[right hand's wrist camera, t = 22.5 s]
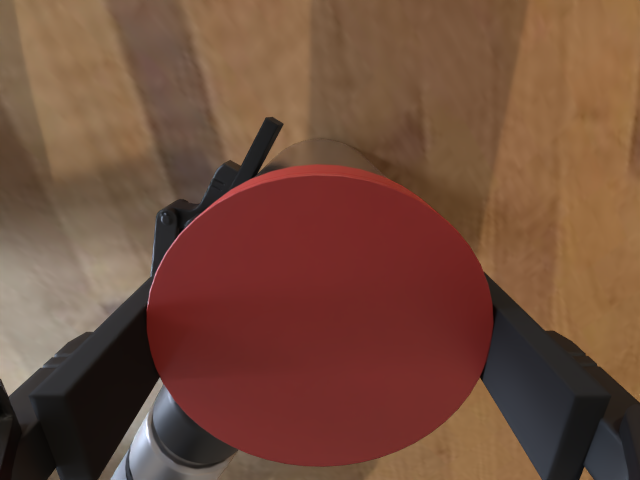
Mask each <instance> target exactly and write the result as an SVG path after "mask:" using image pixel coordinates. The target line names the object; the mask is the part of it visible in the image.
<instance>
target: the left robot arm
mask: <svg viewBox="0 0 640 480" xmlns="http://www.w3.org/2000/svg"><path fill="white" fill-rule="evenodd" d="M282 126H283V123H282V122H280V121H278V120H277V119H275V118H273V117H266V118H265V120H264V122H263V124H262V126H261V128H260V130H259V132H258V134H257V136H256V138H255V140H254V142H253V144H252V146H251V147H250V149H249V151H248V153H247V155H246V157H245V159H244V161H243V163H242V165H241V166H240V165H238V164H236V163H235V162H233V161H231V160H229V161H227V162H226V163H224V164H223V165H221V166H220V167H219V168H218V169H217V170H216V172H215V174H214V176H213V179H212V181H211V183H210V185H209V187H208V189H207V191H206V193H205V195H204V197H203V199H202V201H201V203H200V204H192V203H189V202H188V201H186V200H184V199H179V200H176V201H175V202H173V203H172V204H170V205H168V206H167V207H165V208H163V209H162V210H160V211H159V212H158V213H157V216H156V224H155V234H154V245H153V256H152V267H151V276H152V275H153V274H154V273H155V272H156V271H157V269H158V267H159V265H160V263H161V261H162V259H163V257H164V255H165V254H166V252H167V250H168V249H169V248H170V246H171V245H172V244H173V242H174V241H175V240H176V238H177V237H178V235H179V234H180V233H181V232H182V231H183V230H184V229H185V228H186V227H187V226H188V225H189V224H190V223H191V222H192V221H193V220H194V219H195V218H196V217H197V216H199V215H200V214H201V213H202V212H203V211H205V210H206V209H207V208H208V207H209V206H210V205H212V204H213V203H214V202H215V201H217V200H218V199H219V198H221V197H222V196H223V195H225V194H226V193H227V192H229V191H230V190H231V189H233V188H235V187H237V186H239V185H241V184H242V183H244V182H246V181H248V180H250V179H252V178H254V177H255V176H256V175H257V173H258V171H259V170H260V168H261V166H262V164H263V162H264V160H265V158H266V156H267V155H268V153H269V151H270V149H271V147H272V145H273V143H274V141H275V139H276V138H277V136H278V134H279V132H280V130H281V128H282ZM237 451H238V449H237V448H234V447H232V446H230V445H228V444H227V443H225V442H223V441H221V440H219V439H218V438H216V437H214V436H213V435H212V434H210V433H209V432H207V431H206V430H205V429H203V428H202V427H200V426H199V425H198V424H197V423H196V422H195V421H194V420H193V419H191V418H190V417H189V416H188V415H187V414H186V413H185V412H184V411H183V410H182V408H181V407H180V406H179V405H178V404H177V403H176V401H175V400H174V399H173V397H172V396H171V394H170V393H169V391H168V390H167V388H166V387H165V385H164V384H163V386H162V388H161V390H160V392H159V393H158V395H157V397H156V400H155V402H154V403H153V405H152V407H151V408H150V410H149V412H148V413H147V415H146V417H145V419H144V421H143V422H142V424H141V426H140V428H139V429H138V431H137V433H136V435H135V437H134V440H133V441H132V443H131V445H130V448H129V449H128V451H127V453H126V454H125V456H124V458H123V459H122V461H121V463H120V464H119V466H118V467H117V469H116V471H115V473H114V474H113V476H112V478H111V479H110V480H217V479H218V478H219V476H220V475H221V474H222V472H223V471H224V470H225V468H226V467H227V465H228V464H229V463H230V461H231V460H232V459H233V457H234V456H235V454H236V453H237Z"/></svg>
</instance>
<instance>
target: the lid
mask: <svg viewBox="0 0 640 480" xmlns="http://www.w3.org/2000/svg"><path fill="white" fill-rule="evenodd" d="M492 333H493V305H492V299H491V295H490V290H489V286H488V282H487V280H486V277H485V275H484V272H483V270H482V267H481V264H480V263H479V261H478V259H477V258H476V256H475V254H474V253H473V251H472V249H471V247H470V246H469V245H468V243H467V242H466V241H465V240H464V238H463V237H462V236H461V235H460V234H459V232H458V231H457V230H456V229H455V228H454V227H453V226H452V225H451V224H450V223H449V222H448V221H447V220H445V219H444V218H443V217H442V216H441V215H440V214H439V213H438V212H436V211H435V210H434V209H433V208H432V207H431V206H429V205H428V204H427V203H426V202H425V201H423V200H422V199H421V198H420V197H418V196H417V195H415V194H414V193H412V192H411V191H409V190H408V189H406V188H405V187H403V186H402V185H400V184H398V183H396V182H394V181H391V180H389V179H387V178H385V177H383V176H380V175H377V174H374V173H371V172H368V171H365V170H362V169H357V168H351V167H346V166H340V165H320V164H314V165H303V166H293V167H288V168H284V169H279V170H275V171H271V172H268V173H266V174H263V175H260V176H258V177H255V178H252V179H250V180H248V181H246V182H244V183H242V184H241V185H239V186H237V187H235V188H233V189H231V190H230V191H229V192H227V193H226V194H225V195H223V196H222V197H221V198H219V199H218V200H217V201H215V202H214V203H213V204H212V205H210V206H209V207H208V208H207V209H206V210H205V211H203V212H202V213H201V214H200V215H199V216H197V217H196V218H195V219H194V220H193V221H192V222H191V223H190V224H189V225H188V226H187V227H186V228H185V229H184V230H183V231H182V232H181V233H180V234H179V235H178V237H177V238H176V240H175V241H174V242H173V244H172V245H171V246H170V248H169V249H168V250H167V252H166V254H165V255H164V257H163V259H162V261H161V263H160V265H159V267H158V269H157V271H156V274H155V277H154V280H153V283H152V286H151V289H150V293H149V300H148V306H147V335H148V341H149V346H150V351H151V355H152V358H153V361H154V364H155V367H156V369H157V372H158V374H159V376H160V378H161V380H162V382H163V384H164V385H165V387H166V388H167V390H168V391H169V393H170V394H171V396H172V397H173V399H174V400H175V401H176V403H177V404H178V405H179V406H180V407H181V408H182V410H183V411H184V412H185V413H186V414H187V415H188V416H189V417H190V418H191V419H193V420H194V421H195V422H196V423H197V424H198V425H199V426H200V427H202V428H203V429H205V430H206V431H207V432H209V433H210V434H212V435H213V436H214V437H216V438H218V439H219V440H221V441H223V442H225V443H227V444H228V445H230V446H232V447H234V448H237V449H239V450H241V451H243V452H246V453H248V454H251V455H254V456H257V457H260V458H263V459H266V460H271V461H275V462H280V463H284V464H292V465H300V466H319V467H325V466H341V465H348V464H355V463H361V462H365V461H369V460H373V459H377V458H380V457H383V456H386V455H388V454H391V453H394V452H397V451H399V450H401V449H403V448H405V447H407V446H409V445H411V444H414V443H415V442H417V441H419V440H420V439H422V438H423V437H425V436H427V435H428V434H430V433H431V432H433V431H434V430H435V429H436V428H438V427H439V426H440V425H442V424H443V423H444V422H445V421H446V420H447V419H448V418H449V417H450V416H451V415H452V414H453V413H454V412H455V411H457V410H458V408H459V407H460V406H461V405H462V403H463V402H464V401H465V400H466V398H467V397H468V396H469V395H470V393H471V391H472V390H473V388H474V386H475V385H476V383H477V381H478V380H479V378H480V376H481V373H482V371H483V369H484V366H485V364H486V362H487V358H488V353H489V349H490V344H491V339H492Z"/></svg>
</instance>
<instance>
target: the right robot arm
mask: <svg viewBox="0 0 640 480" xmlns="http://www.w3.org/2000/svg"><path fill="white" fill-rule="evenodd" d="M483 272H484V271H483ZM155 274H156V272H155V273H154V274H153V275H152V276H151V277H150V278H149V279H148V280H147V281H146V282H145V283H144V284H143V285H142V286H141V287H140V288H139V289H138V290H136V291H135V292H134V293H133V294H132V295H131V296H130V297H129V298H128V299H127V300H126V301H125V302H124V303H123V304H122V305H121V306H120V307H119V308H118V309H117V310H116V311H115V312H114V313H113V314H112V315H111V316H110V317H109V318H108V319H107V320H106V321H104V322H103V323H102V324H101V325H100V326H99V327H98V328H97V329H96V330H95V331H94V332H85V333H84V334H82V335H80V336H79V337H77V338H75V339H73V340H72V341H70V342H68V343H67V344H66V345H65V346H64V347H63V348H62V349H60V350H59V351H58V352H57V353H56V354H55V356H54V357H52V358H51V359H50V360H48V361H47V362H46V363H45V364H44V365H43V368H40V369H39V370H37V371H36V372H35V373H34V374H33V375H32V376H31V377H30V378H29V379H28V380H27V381H25V382H24V383H23V384H22V385H21V386H20V387H19V388H18V389H17V390H16V391H14V392H13V393H12V394H11V395H10V396H9V397H8V395H7V393H6V390H5V388H4V385H3V383H2V380H1V379H0V480H47V479H48V478H49V476H50V475H51V474H52V472H53V471H54V470H55V468H56V470H57V472H58V475H59V477H60V480H98V478H99V477H100V475H101V473H102V472H103V470H104V468H105V467H106V465H107V463H108V462H109V460H110V458H111V457H112V455H113V454H114V452H115V450H116V449H117V447H118V445H119V444H120V442H121V440H122V439H123V437H124V435H125V434H126V432H127V430H128V429H129V427H130V425H131V424H132V422H133V420H134V419H135V417H136V416H137V414H138V412H139V411H140V409H141V407H142V406H143V404H144V402H145V401H146V399H147V397H148V396H149V394H150V392H151V391H152V389H153V387H154V386H155V384H156V383H157V381H158V379H159V378H160V376H159V374H158V372H157V369H156V367H155V364H154V361H153V358H152V355H151V351H150V346H149V341H148V335H147V306H148V300H149V293H150V289H151V286H152V283H153V280H154V277H155ZM484 275H485V277H486V280H487V282H488V286H489V290H490V295H491V299H492V305H493V333H492V339H491V344H490V349H489V353H488V358H487V362H486V364H485V366H484V369H483V371H482V373H481V376H480V378H481V380H482V381H483V383H484V385H485V386H486V388H487V389H488V391H489V393H490V394H491V396H492V398H493V399H494V401H495V403H496V404H497V406H498V408H499V409H500V411H501V413H502V414H503V416H504V418H505V419H506V421H507V422H508V424H509V426H510V427H511V429H512V431H513V432H514V434H515V436H516V437H517V439H518V441H519V442H520V444H521V446H522V447H523V449H524V451H525V452H526V454H527V456H528V457H529V459H530V460H531V462H532V464H533V465H534V467H535V469H536V470H537V472H538V474H539V475H540V477H541V479H542V480H579V479H580V477H581V474H582V471H583V469H584V467H585V468H586V469H587V471H588V472H589V473H590V475H591V476H592V477H593V479H594V480H640V403H639V402H638V401H637V400H636V399H635V398H634V397H633V396H632V395H631V394H630V393H628V392H627V391H626V390H625V389H624V388H623V387H622V386H621V385H620V384H618V383H617V382H616V381H615V380H614V379H613V378H612V377H611V376H610V375H609V374H607V373H606V372H605V371H604V370H603V369H602V368H601V367H598V366H597V364H596V363H595V362H594V361H593V360H592V359H591V358H590V357H589V356H586V355H585V353H584V352H583V351H582V350H581V349H580V348H579V347H578V346H577V345H575V344H574V343H573V342H572V341H571V340H569V339H567V338H565V337H564V336H562V335H560V334H558V333H557V332H555V331H545V330H544V329H543V328H541V327H540V326H539V325H538V324H537V323H536V322H535V321H534V320H533V319H532V318H531V317H530V316H529V315H528V314H527V313H526V312H525V311H524V310H523V309H522V308H521V307H520V306H519V305H518V304H517V303H516V302H515V301H514V300H513V299H512V298H511V297H509V296H508V295H507V294H506V293H505V292H504V291H503V290H502V289H501V288H500V287H499V286H498V285H497V284H496V283H495V282H494V281H493V280H492V279H491V278H490V277H489V276H488V275H487V274H486V273H485V272H484Z"/></svg>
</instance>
